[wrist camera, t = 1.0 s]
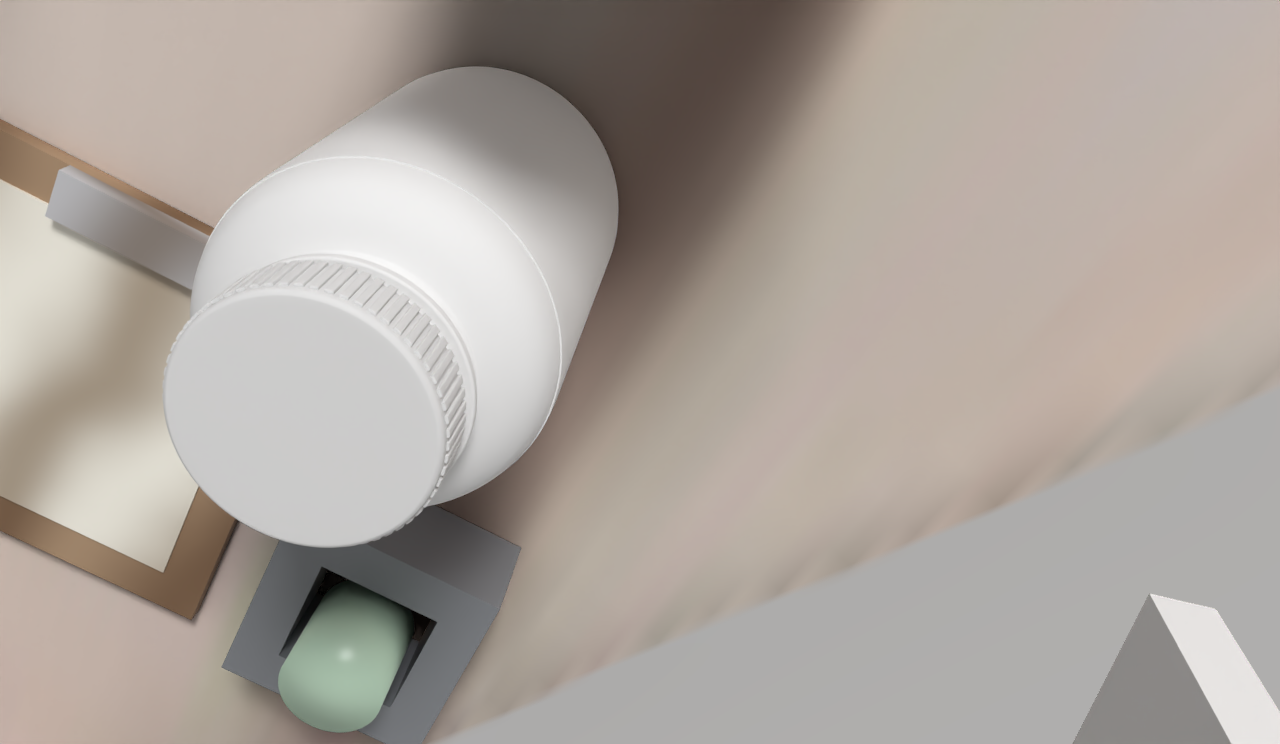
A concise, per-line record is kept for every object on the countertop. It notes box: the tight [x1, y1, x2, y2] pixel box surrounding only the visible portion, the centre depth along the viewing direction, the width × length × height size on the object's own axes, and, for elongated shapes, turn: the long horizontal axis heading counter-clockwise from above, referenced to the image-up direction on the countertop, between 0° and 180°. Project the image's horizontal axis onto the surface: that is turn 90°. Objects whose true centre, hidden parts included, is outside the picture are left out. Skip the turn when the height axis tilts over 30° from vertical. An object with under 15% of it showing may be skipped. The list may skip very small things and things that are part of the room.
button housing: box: [222, 505, 521, 744], centre depth 38 cm, size 7×7×4 cm
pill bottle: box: [162, 66, 618, 548], centre depth 27 cm, size 8×8×15 cm
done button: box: [278, 580, 414, 732], centre depth 36 cm, size 3×3×4 cm
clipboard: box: [0, 119, 238, 620], centre depth 37 cm, size 12×14×1 cm
